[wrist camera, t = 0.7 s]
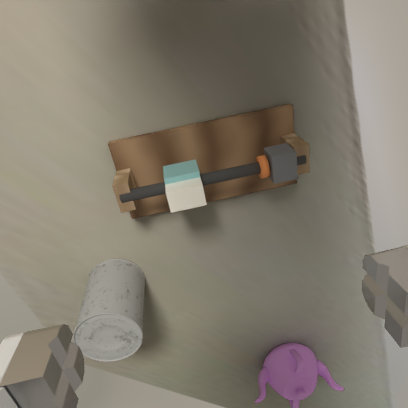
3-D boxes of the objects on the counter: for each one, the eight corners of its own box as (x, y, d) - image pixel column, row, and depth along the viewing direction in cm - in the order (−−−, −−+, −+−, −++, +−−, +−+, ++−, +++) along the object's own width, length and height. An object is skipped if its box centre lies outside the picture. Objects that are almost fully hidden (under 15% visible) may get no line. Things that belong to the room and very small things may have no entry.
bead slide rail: (126, 203, 47) (123, 216, 44) (118, 178, 45) (115, 190, 42) (299, 165, 48) (310, 176, 44) (298, 140, 46) (309, 149, 43)
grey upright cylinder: (119, 310, 61) (111, 370, 50) (76, 282, 57) (57, 341, 46) (157, 279, 59) (156, 335, 48) (115, 248, 55) (104, 301, 44)
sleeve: (170, 194, 48) (172, 218, 42) (163, 166, 46) (164, 186, 40) (201, 188, 48) (207, 210, 42) (195, 159, 46) (201, 178, 40)
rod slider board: (132, 214, 53) (129, 237, 47) (109, 141, 47) (102, 157, 41) (294, 179, 53) (310, 197, 48) (289, 103, 48) (307, 113, 42)
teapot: (325, 352, 74) (345, 390, 66) (277, 385, 77) (290, 426, 69) (294, 328, 69) (312, 366, 61) (244, 364, 72) (254, 405, 65)
